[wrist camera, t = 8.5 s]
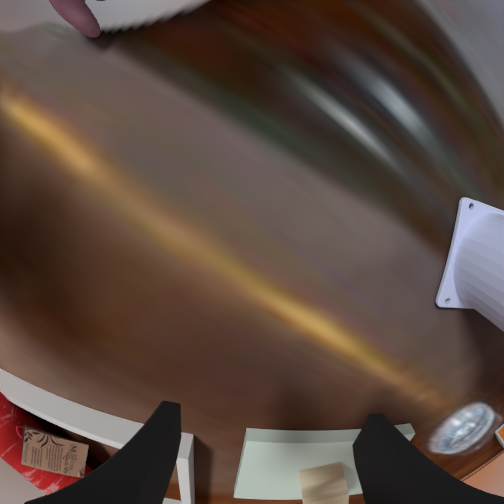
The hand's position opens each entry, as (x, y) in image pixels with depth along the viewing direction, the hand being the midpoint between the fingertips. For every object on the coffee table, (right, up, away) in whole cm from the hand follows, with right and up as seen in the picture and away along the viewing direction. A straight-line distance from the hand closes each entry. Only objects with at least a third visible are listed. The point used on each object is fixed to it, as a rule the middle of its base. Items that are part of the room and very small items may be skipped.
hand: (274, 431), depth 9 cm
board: (+6, -15, +14) cm, 21 cm away
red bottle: (-23, -16, +14) cm, 31 cm away
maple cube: (+6, -15, +12) cm, 20 cm away
